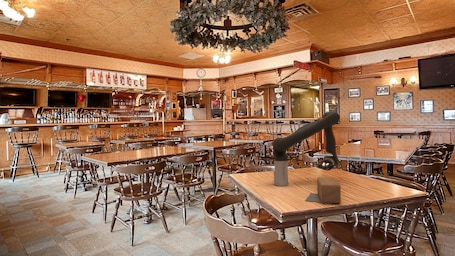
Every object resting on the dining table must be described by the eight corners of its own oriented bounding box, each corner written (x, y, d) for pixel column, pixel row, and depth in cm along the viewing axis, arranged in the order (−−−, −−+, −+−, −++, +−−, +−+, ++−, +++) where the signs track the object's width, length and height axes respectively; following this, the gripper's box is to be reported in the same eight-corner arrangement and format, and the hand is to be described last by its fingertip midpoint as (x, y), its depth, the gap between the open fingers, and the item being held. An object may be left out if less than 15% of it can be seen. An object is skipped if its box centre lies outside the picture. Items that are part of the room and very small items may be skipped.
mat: (305, 201, 149) (305, 200, 149) (310, 193, 164) (310, 192, 164) (332, 204, 143) (332, 203, 143) (335, 196, 158) (335, 195, 158)
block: (334, 193, 161) (341, 203, 142) (317, 193, 163) (321, 202, 144) (334, 177, 161) (340, 184, 142) (316, 176, 163) (321, 184, 144)
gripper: (317, 158, 185) (312, 161, 170) (338, 159, 179) (335, 162, 163) (317, 169, 185) (313, 173, 170) (338, 170, 179) (335, 175, 164)
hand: (323, 168), depth 167 cm, fingers closed
